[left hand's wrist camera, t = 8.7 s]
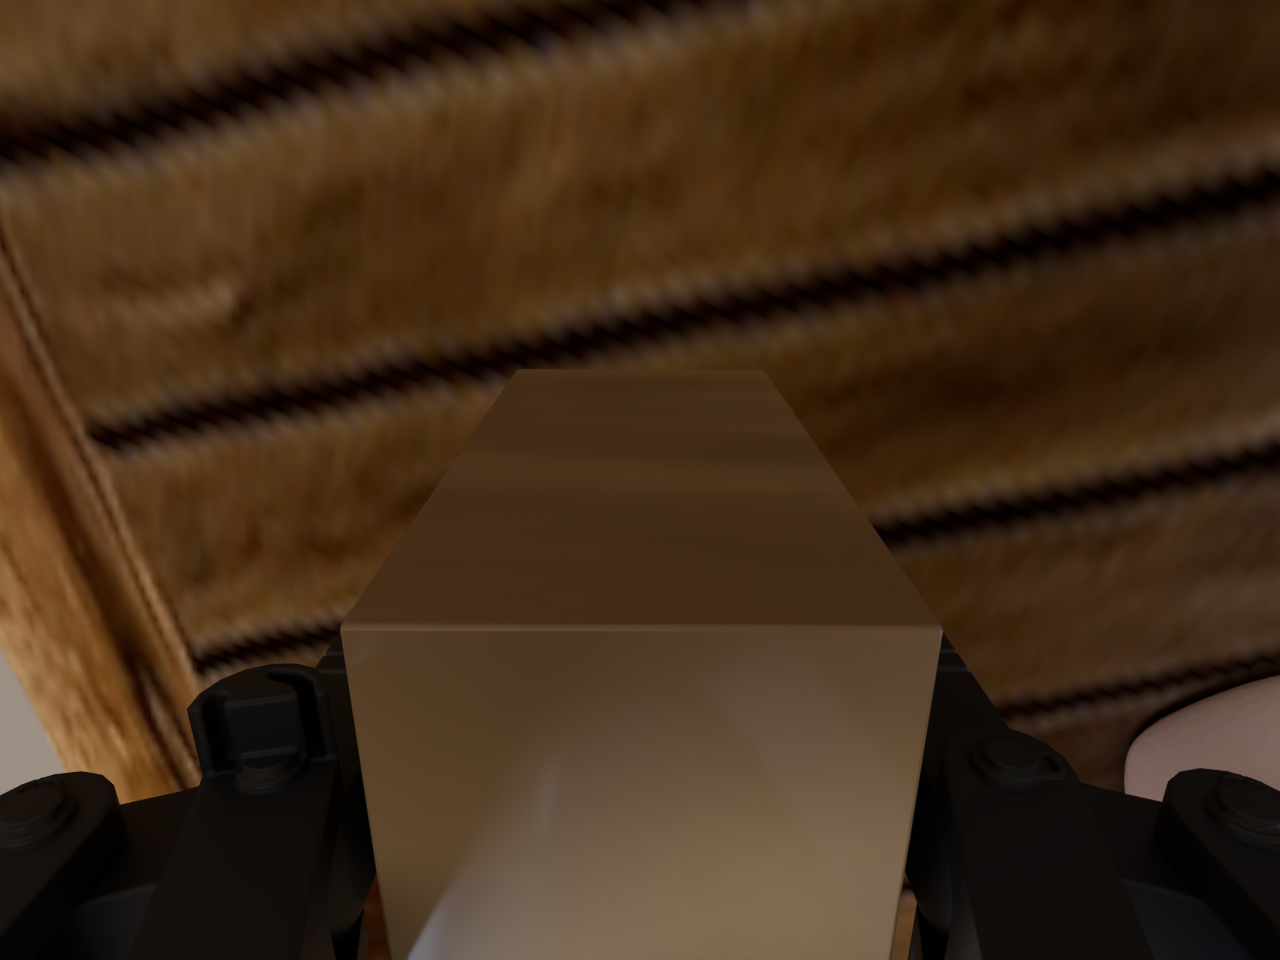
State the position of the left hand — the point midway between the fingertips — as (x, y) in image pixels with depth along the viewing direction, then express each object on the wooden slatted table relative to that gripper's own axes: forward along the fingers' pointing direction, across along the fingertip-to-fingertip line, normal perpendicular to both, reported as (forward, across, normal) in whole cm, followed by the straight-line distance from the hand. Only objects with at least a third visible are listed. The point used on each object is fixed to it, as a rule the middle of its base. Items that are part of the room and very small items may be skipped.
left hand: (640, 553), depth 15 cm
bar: (+1, 0, -8) cm, 8 cm away
